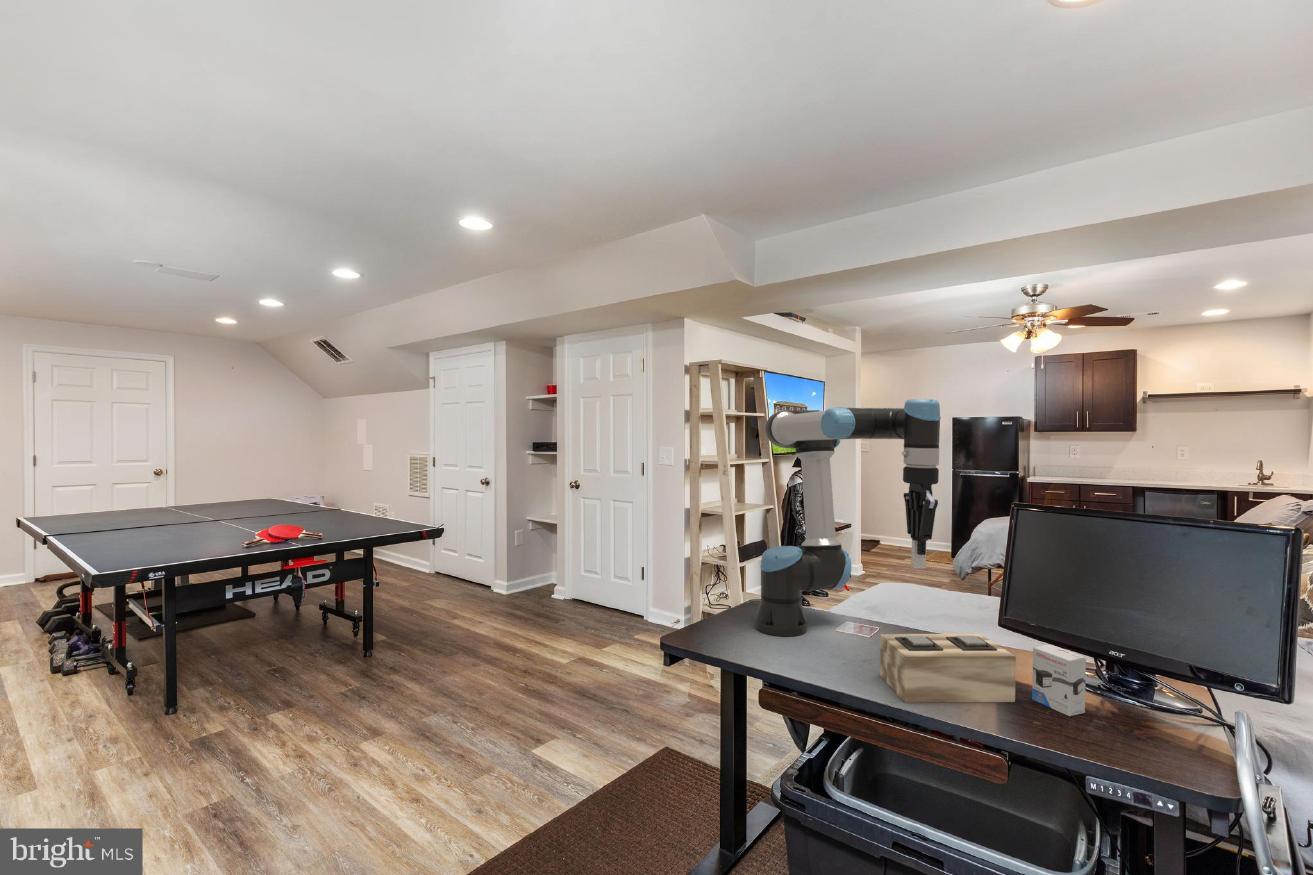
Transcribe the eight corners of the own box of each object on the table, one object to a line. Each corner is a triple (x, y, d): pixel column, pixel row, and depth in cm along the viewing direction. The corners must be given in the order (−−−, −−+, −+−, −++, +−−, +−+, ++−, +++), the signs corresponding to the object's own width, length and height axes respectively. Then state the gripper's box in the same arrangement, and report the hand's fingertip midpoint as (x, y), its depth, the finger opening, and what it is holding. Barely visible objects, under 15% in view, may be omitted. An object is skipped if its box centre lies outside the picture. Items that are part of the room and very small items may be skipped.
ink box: (1030, 699, 132) (1031, 646, 132) (1046, 696, 134) (1047, 643, 134) (1069, 717, 124) (1070, 660, 124) (1086, 713, 126) (1087, 657, 126)
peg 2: (955, 676, 140) (956, 635, 140) (974, 676, 140) (975, 635, 140) (965, 684, 135) (966, 642, 135) (985, 684, 135) (985, 642, 135)
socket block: (879, 675, 144) (880, 632, 144) (979, 675, 145) (979, 632, 144) (905, 702, 130) (905, 654, 130) (1014, 701, 131) (1015, 654, 131)
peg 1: (904, 676, 139) (904, 635, 139) (923, 676, 140) (923, 635, 139) (912, 684, 135) (913, 642, 135) (932, 684, 135) (932, 642, 135)
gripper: (893, 463, 146) (891, 560, 147) (916, 468, 133) (914, 574, 134) (924, 464, 146) (922, 561, 147) (950, 468, 133) (948, 575, 134)
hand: (918, 567), depth 140 cm, fingers closed
